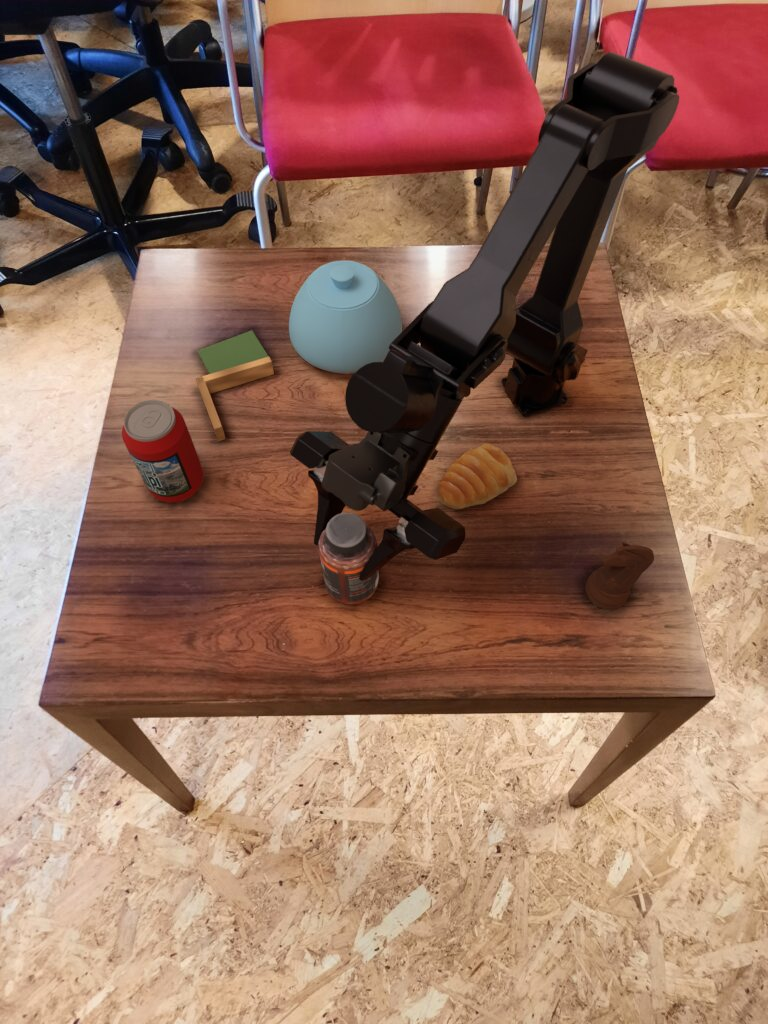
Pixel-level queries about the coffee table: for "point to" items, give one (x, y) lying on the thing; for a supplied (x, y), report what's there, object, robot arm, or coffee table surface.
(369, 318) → the sugar bowl
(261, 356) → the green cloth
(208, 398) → the corner guard
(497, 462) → the pastry
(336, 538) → the supplement bottle
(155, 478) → the beverage can
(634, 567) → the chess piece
